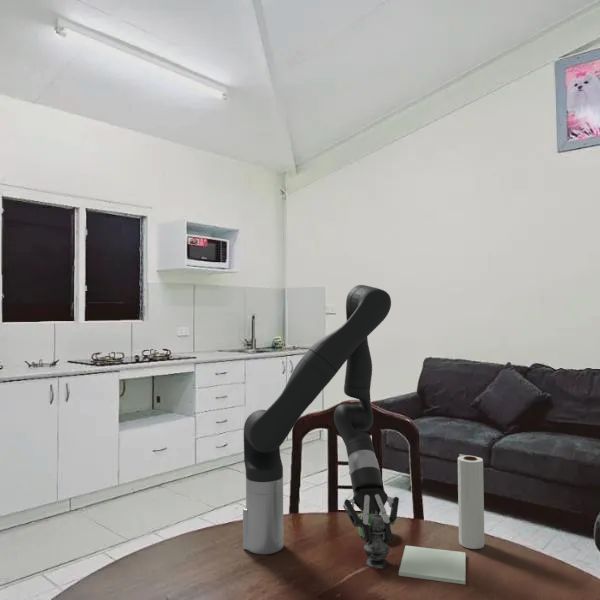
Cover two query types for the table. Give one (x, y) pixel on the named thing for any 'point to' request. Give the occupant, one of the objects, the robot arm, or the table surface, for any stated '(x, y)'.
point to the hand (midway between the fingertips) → (379, 542)
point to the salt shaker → (377, 544)
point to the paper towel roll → (471, 501)
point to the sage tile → (433, 564)
